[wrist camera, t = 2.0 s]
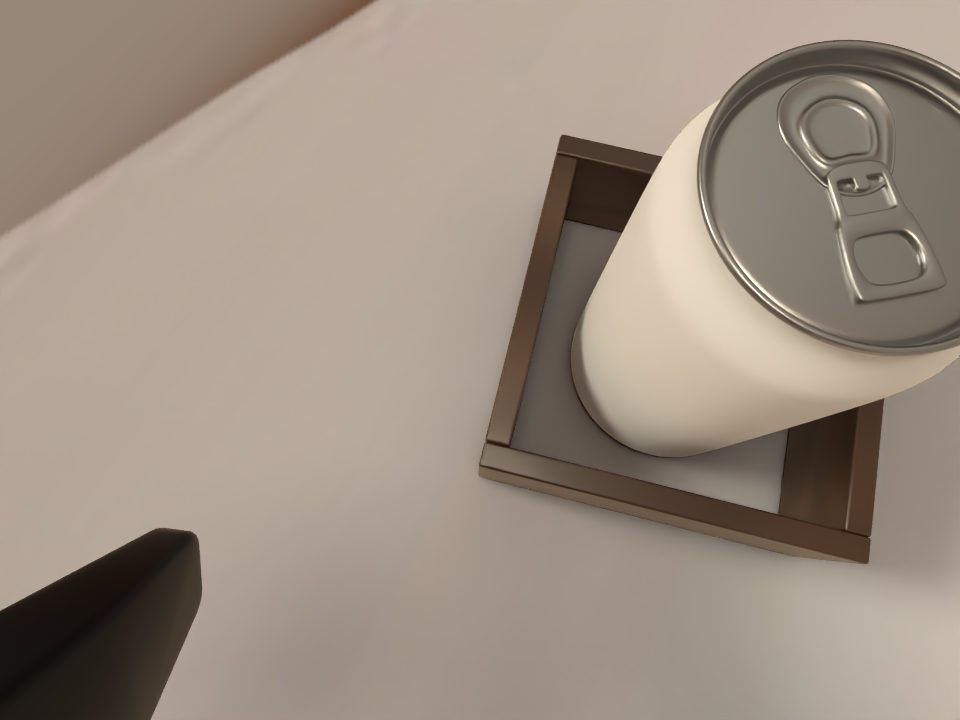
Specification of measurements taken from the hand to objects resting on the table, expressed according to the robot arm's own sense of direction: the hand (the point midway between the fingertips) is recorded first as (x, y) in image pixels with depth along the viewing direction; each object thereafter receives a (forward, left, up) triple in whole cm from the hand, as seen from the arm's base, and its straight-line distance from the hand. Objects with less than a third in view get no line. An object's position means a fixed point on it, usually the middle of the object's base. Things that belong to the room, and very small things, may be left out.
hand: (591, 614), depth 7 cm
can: (+3, -7, -14) cm, 16 cm away
